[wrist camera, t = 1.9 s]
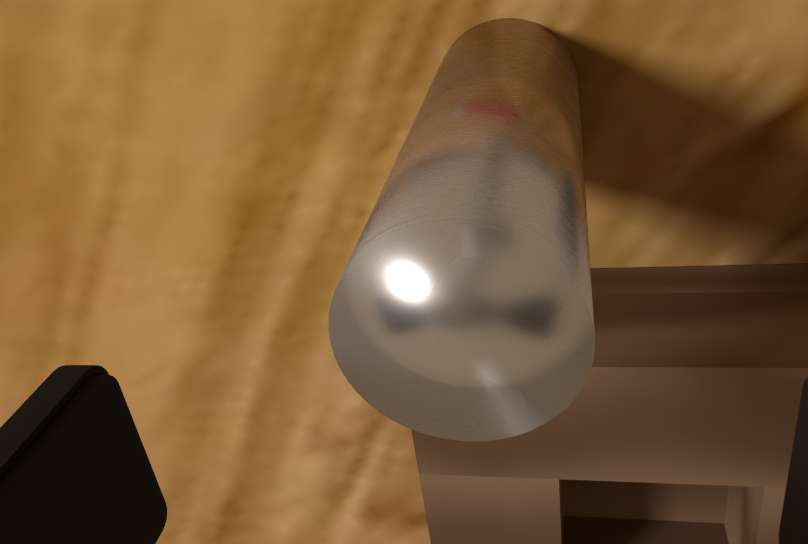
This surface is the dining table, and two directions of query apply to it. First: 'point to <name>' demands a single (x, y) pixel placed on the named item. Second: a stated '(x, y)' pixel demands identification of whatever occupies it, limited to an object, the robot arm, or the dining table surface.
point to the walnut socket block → (648, 422)
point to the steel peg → (477, 249)
